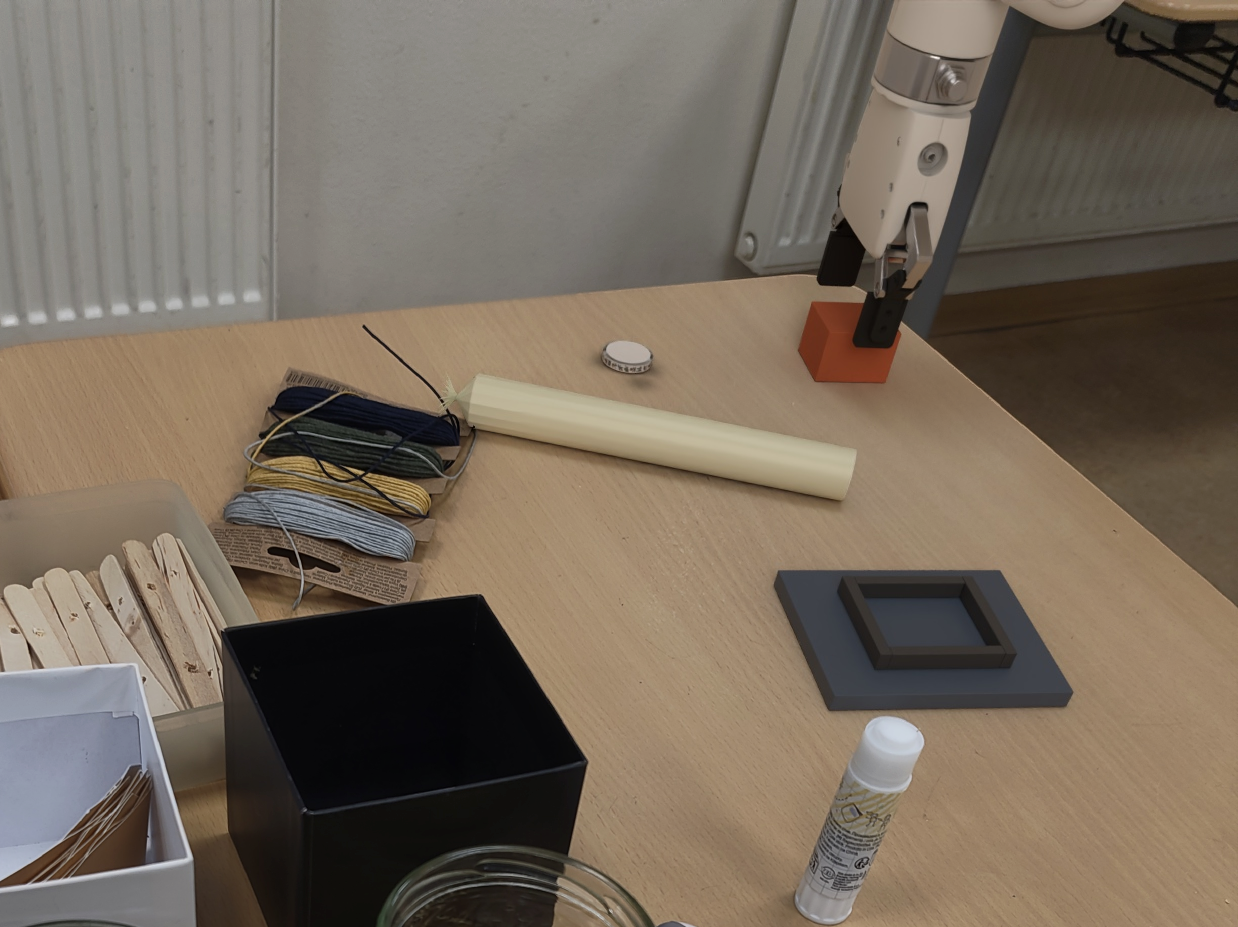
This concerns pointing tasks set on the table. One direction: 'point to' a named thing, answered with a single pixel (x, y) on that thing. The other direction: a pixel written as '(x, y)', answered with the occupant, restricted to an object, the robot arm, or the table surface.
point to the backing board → (919, 640)
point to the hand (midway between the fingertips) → (852, 314)
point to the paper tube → (654, 436)
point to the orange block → (841, 346)
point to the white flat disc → (627, 356)
